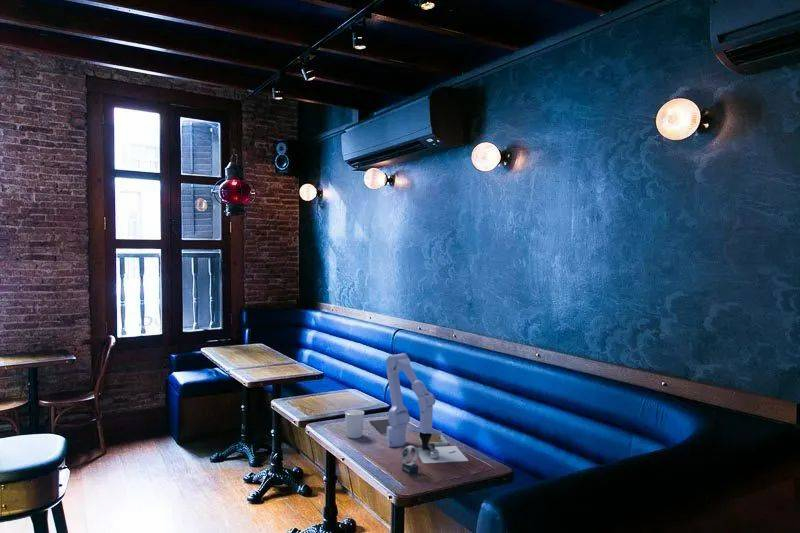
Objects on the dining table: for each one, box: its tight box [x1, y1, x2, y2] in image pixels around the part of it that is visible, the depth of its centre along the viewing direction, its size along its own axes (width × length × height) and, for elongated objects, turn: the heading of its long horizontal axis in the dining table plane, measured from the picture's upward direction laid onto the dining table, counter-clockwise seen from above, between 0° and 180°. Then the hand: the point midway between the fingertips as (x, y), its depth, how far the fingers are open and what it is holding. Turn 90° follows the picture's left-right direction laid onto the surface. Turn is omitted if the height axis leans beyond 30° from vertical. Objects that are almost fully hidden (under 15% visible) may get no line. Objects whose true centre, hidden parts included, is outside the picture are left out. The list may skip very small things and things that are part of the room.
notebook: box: [369, 418, 391, 436], centre depth 292 cm, size 13×2×21 cm
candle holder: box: [344, 408, 365, 439], centre depth 278 cm, size 10×10×12 cm
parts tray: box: [418, 434, 449, 447], centre depth 269 cm, size 12×12×2 cm
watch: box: [400, 445, 420, 476], centre depth 234 cm, size 6×8×11 cm
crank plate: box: [413, 445, 469, 464], centre depth 253 cm, size 21×19×1 cm
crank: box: [421, 443, 439, 459], centre depth 252 cm, size 14×6×3 cm, turn 12°
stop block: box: [429, 435, 440, 442], centre depth 269 cm, size 4×4×6 cm
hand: (425, 448), depth 255 cm, fingers closed
